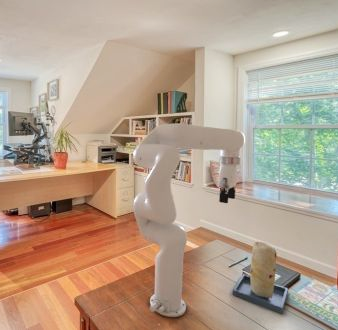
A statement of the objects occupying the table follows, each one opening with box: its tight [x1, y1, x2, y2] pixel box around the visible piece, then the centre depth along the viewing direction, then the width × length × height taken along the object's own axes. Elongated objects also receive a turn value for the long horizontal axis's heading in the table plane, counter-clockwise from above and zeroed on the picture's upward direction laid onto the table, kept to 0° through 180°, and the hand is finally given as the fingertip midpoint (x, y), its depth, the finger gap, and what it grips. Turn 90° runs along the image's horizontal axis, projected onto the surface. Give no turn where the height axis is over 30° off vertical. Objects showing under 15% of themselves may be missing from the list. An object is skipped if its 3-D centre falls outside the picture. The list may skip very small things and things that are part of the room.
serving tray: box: [232, 273, 289, 315], centre depth 100 cm, size 16×16×2 cm
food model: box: [249, 241, 277, 298], centre depth 98 cm, size 10×7×20 cm
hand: (227, 200), depth 109 cm, fingers open, 9 cm apart
